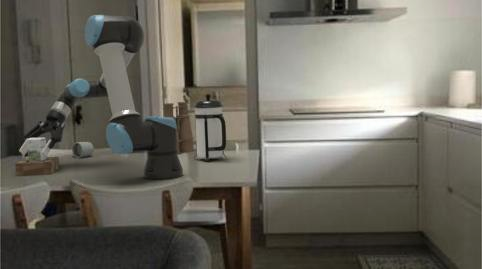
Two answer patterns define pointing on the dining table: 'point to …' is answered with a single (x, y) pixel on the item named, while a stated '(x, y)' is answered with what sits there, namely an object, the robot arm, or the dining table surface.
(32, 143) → the syrup box
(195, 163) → the dining table surface
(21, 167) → the holder block
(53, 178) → the dining table surface
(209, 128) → the coffee press
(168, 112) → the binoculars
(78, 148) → the grey cylinder
